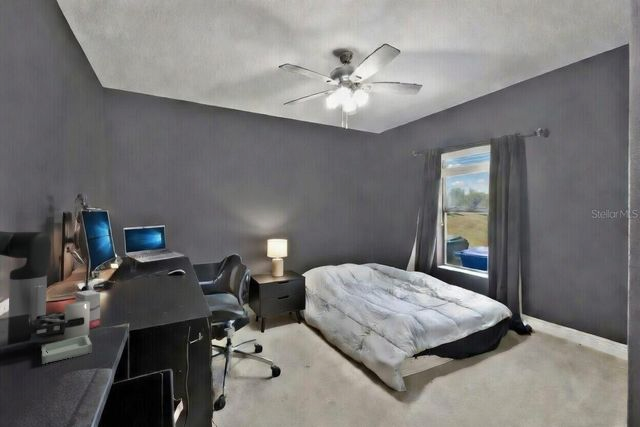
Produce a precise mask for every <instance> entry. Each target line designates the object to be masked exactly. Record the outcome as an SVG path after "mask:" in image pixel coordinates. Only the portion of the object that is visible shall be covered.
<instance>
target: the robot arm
mask: <svg viewBox="0 0 640 427" xmlns="http://www.w3.org/2000/svg"><path fill="white" fill-rule="evenodd" d="M51 251H52V239H51V237H50V235H49V234H47V233H46V232H42V231H18V232H17V231H16V232H15V231H13V232H9V231H0V256H4V257H9V258H14V259H26V261H25V264H24V265H22V266H20V267H18V268H15V269H12V270H11V271H10V273H9V285H8V286H9V291H8V292H9V293H8V317H2V318H1V317H0V347H1V348H2V347H6V346H11V345H15V344H16V345H17V344H21V343H26V342H29V341H30V340H32V339H31V338H32V334H35V335H36V337H42V336H47V335H51V334H58V333H64V331H65V330H66V329H68V328H70V327H75V326H80V325H83V324H84V317H81V318H75V319H70V320H65V312H63V311H59V312H58V311H57V312H53V313H49V314H47V288H48V286H47V284H48V283H47V281H48V280H47V278H48V275H47V274H48V270H49V268H50V264H51V263H50V262H51Z"/></svg>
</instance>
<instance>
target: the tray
mask: <svg viewBox="0 0 640 427" xmlns="http://www.w3.org/2000/svg"><path fill="white" fill-rule="evenodd" d="M41 351H42V354H41V365H42V364H45V363H48V362H52V361H57V360H62V359H66V360H68V359H67V358H69V359H73V358H77V357H80V356H81V357H82V356H84V355H88V353H89V354H92V353H93V344H92V341H91V339H90V336H89V337H88V335H85V336H80V337H76V338H71V339H67V340H64V339H63V340H58V341H57V340H56V341H54V342H49V343H45V344H41ZM46 351H47V352H48V353H47V352H46ZM72 357H73V358H72ZM62 361H63V360H62Z"/></svg>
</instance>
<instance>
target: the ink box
mask: <svg viewBox="0 0 640 427" xmlns="http://www.w3.org/2000/svg"><path fill="white" fill-rule="evenodd" d="M82 301H89V302H90V319H89V329H92V328H96V327H100V326H101V292H98V291H95V290H92V289H91V290H82V291H77V292H75V302H82Z"/></svg>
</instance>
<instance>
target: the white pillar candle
mask: <svg viewBox="0 0 640 427" xmlns="http://www.w3.org/2000/svg"><path fill="white" fill-rule="evenodd" d="M64 313H65V320H70V319H75V318H81V317H84V324H83V325H80V326H75V327H70V328H68V329H66V330H65V331H64V332H63V340H67V339H71V338H76V337H80V336H85V335H89V336H90V328H89V319H90V302H89V301H82V302H76V301H75V302H70V303H67V304H65V305H64Z"/></svg>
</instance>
